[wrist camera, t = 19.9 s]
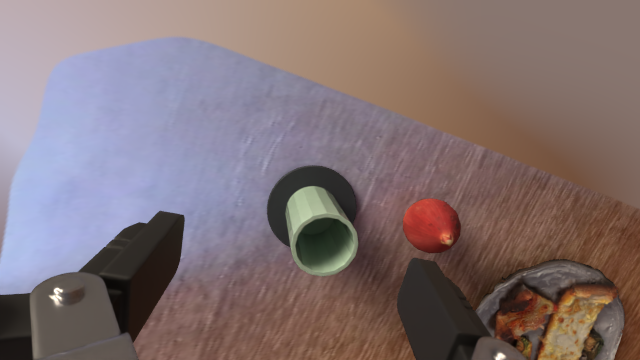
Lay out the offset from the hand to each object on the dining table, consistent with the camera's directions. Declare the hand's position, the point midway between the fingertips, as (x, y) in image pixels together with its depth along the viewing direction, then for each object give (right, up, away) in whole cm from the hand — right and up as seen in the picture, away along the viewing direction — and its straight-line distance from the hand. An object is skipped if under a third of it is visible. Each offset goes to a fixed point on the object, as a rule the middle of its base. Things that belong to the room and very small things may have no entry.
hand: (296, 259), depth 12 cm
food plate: (+30, -19, +36) cm, 51 cm away
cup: (0, -1, +26) cm, 26 cm away
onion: (+12, -1, +29) cm, 31 cm away
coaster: (0, -1, +26) cm, 26 cm away
